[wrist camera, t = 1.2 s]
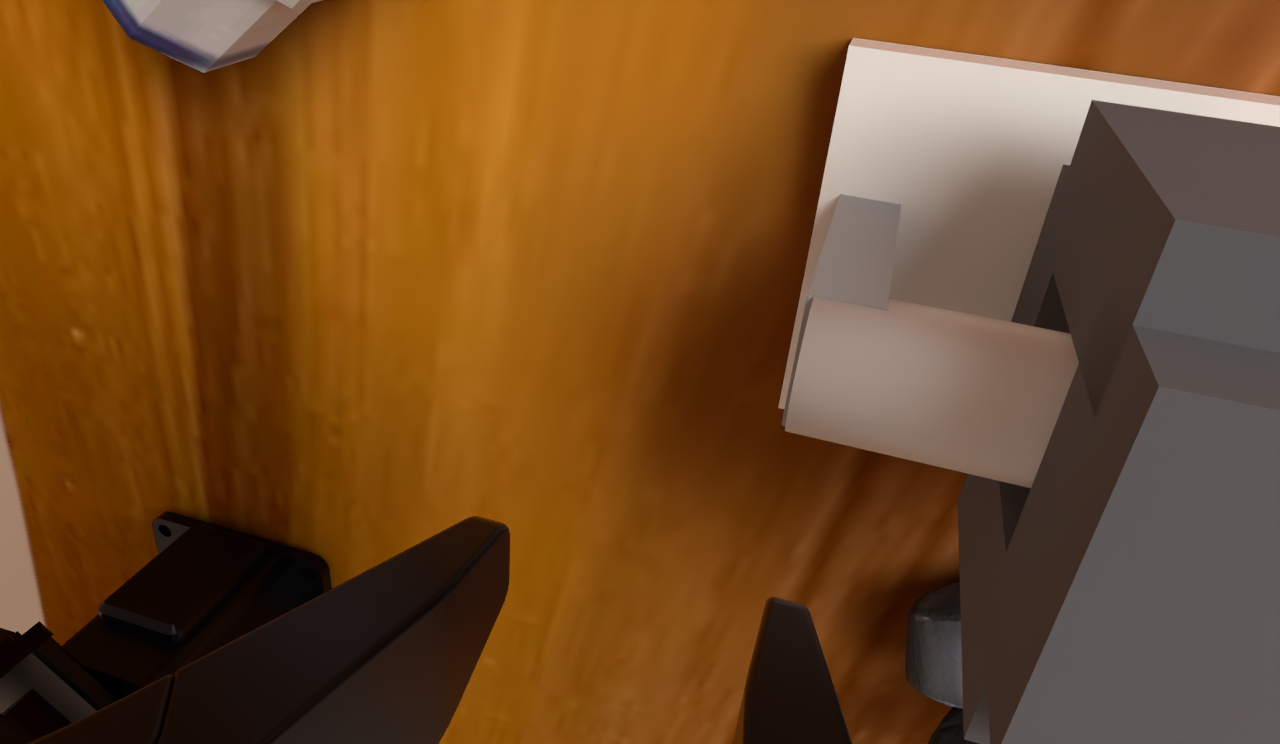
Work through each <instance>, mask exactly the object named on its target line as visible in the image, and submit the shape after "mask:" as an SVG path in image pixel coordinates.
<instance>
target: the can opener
mask: <svg viewBox="0 0 1280 744" xmlns="http://www.w3.org/2000/svg"><path fill="white" fill-rule="evenodd" d="M906 677H907V680H908V682H909V683H910V684H911V686H912V687H913V688H914V689H916V690H917V691H918V692H919V693H921V694H922V695H924V696H926V697H929V698H931V699H933V700H934V701H936V702H940V703H943V704H945V705H947V706H951V707H952V708H951V710H950V711H949V713H947V714H946V716H945V717H944V718H943V720H942V721H941V722H940V724H939V725H938V727H937V729H936V730H935V732H934V733H933V734H932V736H931V739H930V741H929V743H928V744H979V743H975V742H972V741H968V740H965V739H964V728H963V688H962V648H961V608H960V582H958V583H954V584H951V585H948V586H945V587H942V588H940V589H938V590H935V591H932V592H930V593H927V594H925V595H924V596H922V597H920V598H919V599H918V600H916V602H915V603H914V605H913V606H912V608H911V610H910V613H909V619H908V634H907V645H906Z"/></svg>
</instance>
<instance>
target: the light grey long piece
mask: <svg viewBox="0 0 1280 744" xmlns="http://www.w3.org/2000/svg"><path fill="white" fill-rule="evenodd" d="M102 1H103V2H104V3H105V5H106V6H107V8H108V9H109V10H110V12H111V13H112V15H113V16H114V17H115V19H116V20H117V22H118V23H119V24H120V26H121V27H122V28H123V30H124V31H125V33H126V34H127V35H128V37H129V38H131V39H133V40H135V41H137V42H139V43H141V44H143V45H146V46H148V47H150V48H152V49H154V50H156V51H158V52H160V53H162V54H165V55H167V56H169V57H171V58H173V59H175V60H177V61H179V62H182V63H184V64H186V65H188V66H190V67H192V68H194V69H196V70H199V71H201V72H203V73H205V72H209V71H212V70H215V69H218V68H221V67H225V66H228V65H231V64H234V63H237V62H240V61H244V60H247V59H250V58H253V57H255V56H257V55H258V54H259V53H260V52H261V51H262V50H263V49H264V48H265V47H266V46H267V45H268V44H269V43H270V42H271V41H272V40H273V39H274V38H276V37H277V36H278V35H279V34H280V33H281V32H282V31H283V30H284V29H285V28H286V27H287V26H288V25H289V24H290V23H291V22H292V21H293V20H295V19H296V18H297V17H298V16H299V15H300V14H301V13H302V12H303V11H304V10H305V9H306V8H307V7H308V6H309V5H310V4H311V3H315V2H318V1H322V0H102Z"/></svg>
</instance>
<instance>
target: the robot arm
mask: <svg viewBox="0 0 1280 744" xmlns="http://www.w3.org/2000/svg"><path fill="white" fill-rule="evenodd" d="M152 528H153V532H154V536H155V540H156V544H157V549H158V553H159V554H158V555H157V556H156V557H155V558H154V559H153V560H151V561H150V562H149V563H148V564H147V565H146V566H144V567H143V568H142V569H141V570H140V571H139V572H137V573H136V574H135V575H134V576H133V577H132V578H130V579H129V580H128V581H127V582H126V583H124V584H123V585H122V586H121V587H120V588H119V589H117V590H116V591H115V592H114V593H113V594H112V595H110V596H109V597H108V598H107V599H106V600H105V601H103V602H102V603H101V604H100V605H99V607H98V612H99V614H98V615H97V616H96V617H95V618H93V619H92V620H91V621H90V622H89V623H88V624H86V625H85V626H84V627H83V628H82V629H81V630H80V631H78V632H77V633H76V634H75V635H74V636H73V637H71V638H70V639H69V640H68V641H67V642H66V643H64V644H63V645H62V646H60V645H59V644H58V643H57V642H56V641H55V640H54V639H53V638H52V637H51V636H52V635H53V633H52V632H51V631H49V630H48V629H47V628H46V627H45V626H44V625H43V624H42V623H41V622H38V623H37V624H35V625H34V626H33V627H32V628H30V629H29V630H28V631H27V632H25V633H24V634H23V635H21V634H20V633H19V632H18V631H17V632H16V633H15V632H12V631H9V630H5V629H2V628H0V744H439V742H440V740H441V738H442V737H443V735H444V733H445V731H446V729H447V727H448V726H449V724H450V721H451V719H452V717H453V715H454V713H455V711H456V709H457V707H458V704H459V702H460V700H461V698H462V696H463V693H464V691H465V689H466V687H467V684H468V682H469V680H470V678H471V675H472V673H473V671H474V669H475V666H476V664H477V662H478V660H479V657H480V655H481V653H482V651H483V648H484V646H485V644H486V642H487V639H488V637H489V635H490V633H491V630H492V628H493V626H494V624H495V621H496V619H497V617H498V615H499V612H500V610H501V608H502V606H503V603H504V601H505V598H506V595H507V591H508V586H509V566H510V533H509V529H508V527H507V526H506V525H505V524H503V523H501V522H497V521H493V520H490V519H486V518H482V517H478V516H473V517H469V518H467V519H465V520H463V521H461V522H459V523H457V524H455V525H453V526H451V527H449V528H447V529H446V530H444V531H442V532H440V533H438V534H436V535H434V536H432V537H430V538H428V539H426V540H425V541H423V542H421V543H419V544H417V545H415V546H413V547H411V548H409V549H407V550H405V551H404V552H402V553H400V554H398V555H396V556H394V557H392V558H390V559H388V560H386V561H384V562H383V563H381V564H379V565H377V566H375V567H373V568H371V569H369V570H367V571H365V572H364V573H362V574H360V575H358V576H356V577H354V578H352V579H350V580H348V581H346V582H344V583H343V584H341V585H339V586H337V587H335V588H333V589H332V588H331V579H330V570H329V567H328V565H327V563H326V562H325V560H323V559H322V558H321V557H320V556H317V555H315V554H312V553H309V552H305V551H302V550H299V549H295V548H292V547H288V546H285V545H281V544H278V543H275V542H271V541H268V540H264V539H261V538H258V537H254V536H251V535H247V534H244V533H241V532H237V531H234V530H230V529H227V528H223V527H220V526H217V525H213V524H210V523H206V522H203V521H200V520H196V519H193V518H189V517H186V516H182V515H179V514H176V513H172V512H164V513H162V514H161V515H160V516H158V517H157V518H156V519H155V520H154V521H153V523H152ZM733 744H852V742H851V739H850V736H849V733H848V730H847V727H846V723H845V720H844V717H843V714H842V711H841V708H840V705H839V702H838V698H837V695H836V692H835V689H834V686H833V683H832V680H831V677H830V674H829V670H828V667H827V664H826V661H825V658H824V655H823V652H822V649H821V645H820V642H819V639H818V636H817V633H816V630H815V627H814V624H813V621H812V617H811V614H810V612H809V610H808V608H807V607H805V606H804V605H802V604H798V603H794V602H791V601H787V600H783V599H780V598H776V597H771V598H769V599H768V600H767V602H766V604H765V608H764V612H763V616H762V620H761V624H760V628H759V632H758V636H757V639H756V643H755V647H754V651H753V655H752V659H751V663H750V667H749V671H748V675H747V680H746V685H745V689H744V694H743V699H742V704H741V708H740V713H739V718H738V722H737V727H736V732H735V736H734V741H733Z"/></svg>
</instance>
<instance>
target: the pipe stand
mask: <svg viewBox="0 0 1280 744" xmlns="http://www.w3.org/2000/svg"><path fill="white" fill-rule="evenodd" d="M1092 100H1096V101H1103V102H1110V103H1116V104H1123V105H1130V106H1137V107H1144V108H1151V109H1158V110H1165V111H1172V112H1179V113H1186V114H1193V115H1200V116H1207V117H1214V118H1221V119H1227V120H1234V121H1241V122H1248V123H1255V124H1262V125H1269V126H1276V127H1280V96H1273V95H1266V94H1258V93H1251V92H1244V91H1237V90H1229V89H1222V88H1215V87H1208V86H1200V85H1193V84H1186V83H1179V82H1171V81H1164V80H1157V79H1150V78H1142V77H1135V76H1128V75H1121V74H1113V73H1106V72H1099V71H1091V70H1084V69H1077V68H1070V67H1062V66H1055V65H1048V64H1041V63H1033V62H1026V61H1019V60H1012V59H1004V58H997V57H990V56H983V55H975V54H968V53H961V52H954V51H946V50H939V49H932V48H924V47H917V46H910V45H903V44H895V43H888V42H881V41H874V40H866V39H859V38H853V39H852V41H851V43H850V44H849V47H848V52H847V58H846V63H845V68H844V73H843V78H842V83H841V88H840V94H839V99H838V104H837V109H836V114H835V119H834V124H833V129H832V135H831V140H830V145H829V150H828V155H827V160H826V165H825V170H824V176H823V181H822V186H821V191H820V196H819V201H818V206H817V212H816V217H815V222H814V227H813V232H812V237H811V242H810V247H809V253H808V258H807V263H806V268H805V273H804V278H803V283H802V288H801V294H800V299H799V304H798V309H797V314H796V319H795V324H794V330H793V335H792V340H791V345H790V350H789V355H788V360H787V365H786V371H785V376H784V381H783V386H782V391H781V396H780V401H779V407H778V408H781V409H784V414H783V419H782V424H781V426H785V431H786V432H790V433H795V434H799V435H803V436H808V437H812V438H816V439H821V440H825V441H829V442H833V443H838V444H842V445H846V446H851V447H855V448H859V449H864V450H868V451H872V452H877V453H881V454H885V455H890V456H894V457H898V458H903V459H907V460H911V461H915V462H920V463H924V464H928V465H933V466H937V467H941V468H946V469H950V470H954V471H959V472H963V473H967V474H972V475H976V476H980V477H984V478H989V479H993V480H997V481H1002V482H1006V483H1010V484H1015V485H1019V486H1023V487H1028V488H1031V487H1032V484H1033V482H1034V479H1035V476H1036V474H1037V471H1038V469H1039V466H1040V463H1041V461H1042V458H1043V456H1044V453H1045V450H1046V448H1047V445H1048V443H1049V440H1050V437H1051V435H1052V432H1053V429H1054V427H1055V424H1056V422H1057V419H1058V416H1059V414H1060V411H1061V409H1062V406H1063V403H1064V401H1065V398H1066V396H1067V393H1068V390H1069V388H1070V385H1071V382H1072V380H1073V377H1074V375H1075V372H1076V369H1077V367H1078V364H1079V362H1078V358H1077V355H1076V351H1075V348H1074V344H1073V341H1072V337H1071V334H1070V333H1065V332H1060V331H1054V330H1049V329H1044V328H1039V327H1034V326H1029V325H1024V324H1019V323H1014V322H1011V320H1012V317H1013V314H1014V311H1015V308H1016V305H1017V302H1018V299H1019V296H1020V293H1021V290H1022V287H1023V284H1024V281H1025V278H1026V275H1027V272H1028V269H1029V266H1030V263H1031V260H1032V257H1033V254H1034V251H1035V248H1036V245H1037V242H1038V239H1039V236H1040V233H1041V230H1042V226H1043V223H1044V220H1045V217H1046V214H1047V211H1048V208H1049V205H1050V202H1051V199H1052V196H1053V193H1054V190H1055V187H1056V184H1057V181H1058V178H1059V175H1060V172H1061V169H1062V166H1063V164H1064V165H1070V164H1071V161H1072V158H1073V155H1074V152H1075V149H1076V146H1077V143H1078V140H1079V137H1080V134H1081V131H1082V128H1083V125H1084V122H1085V119H1086V116H1087V113H1088V110H1089V107H1090V104H1091V101H1092Z"/></svg>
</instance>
